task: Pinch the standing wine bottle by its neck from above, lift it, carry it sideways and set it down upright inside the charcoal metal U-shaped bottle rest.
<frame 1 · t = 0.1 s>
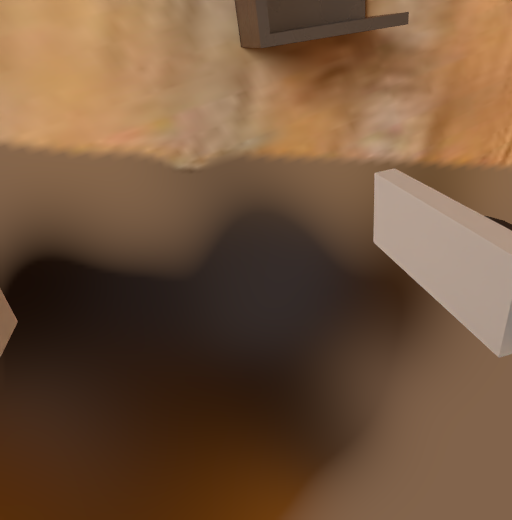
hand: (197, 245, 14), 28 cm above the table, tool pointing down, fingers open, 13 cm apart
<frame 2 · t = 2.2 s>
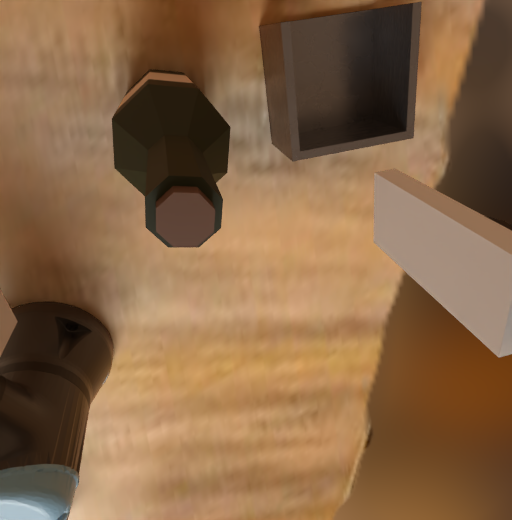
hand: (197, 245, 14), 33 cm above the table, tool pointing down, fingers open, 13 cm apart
bottle rest: (322, 75, 44), on the table
wine bottle: (166, 111, 42), on the table
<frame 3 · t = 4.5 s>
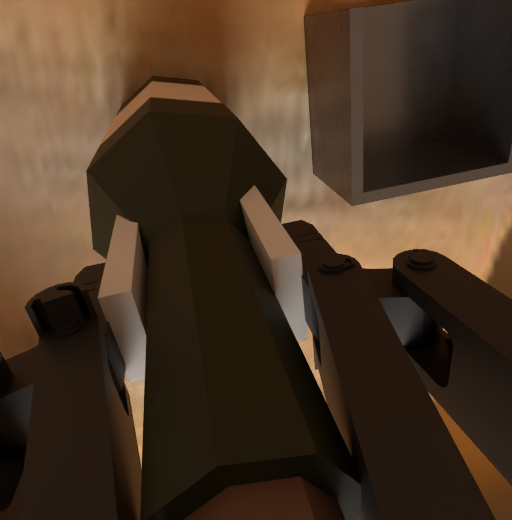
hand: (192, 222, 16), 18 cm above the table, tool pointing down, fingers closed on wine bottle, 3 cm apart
bottle rest: (383, 83, 33), on the table
wine bottle: (174, 133, 31), on the table, touching gripper
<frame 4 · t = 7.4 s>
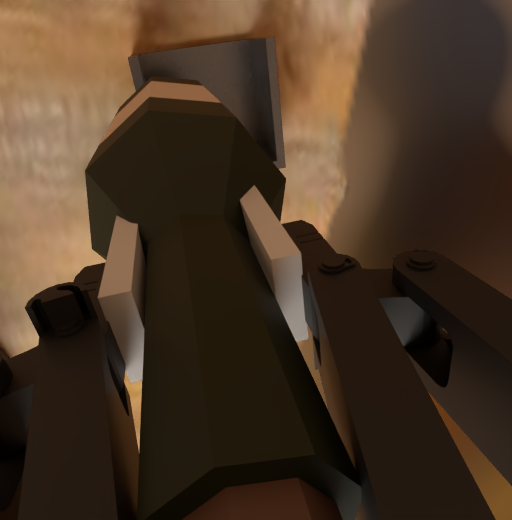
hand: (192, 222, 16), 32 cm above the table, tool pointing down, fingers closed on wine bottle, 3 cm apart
bottle rest: (203, 102, 44), on the table
wine bottle: (174, 132, 31), point 14 cm above the table, touching gripper
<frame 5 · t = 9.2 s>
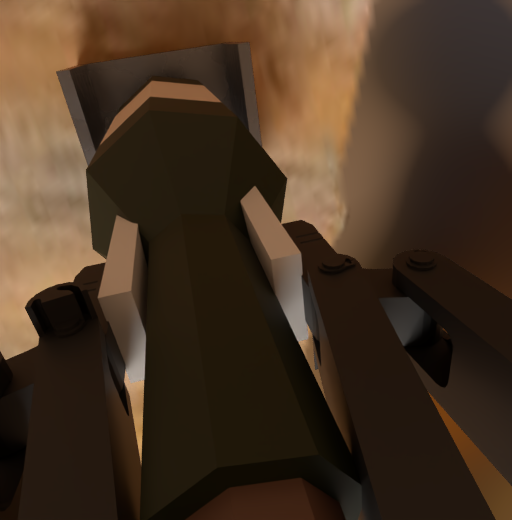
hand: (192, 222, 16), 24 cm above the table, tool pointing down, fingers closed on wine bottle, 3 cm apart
bottle rest: (170, 121, 36), on the table
wine bottle: (174, 132, 31), point 6 cm above the table, touching gripper
when the fingers open (19 cm above the table, at t = 10.6 s): wine bottle drops 1 cm, resting on bottle rest.
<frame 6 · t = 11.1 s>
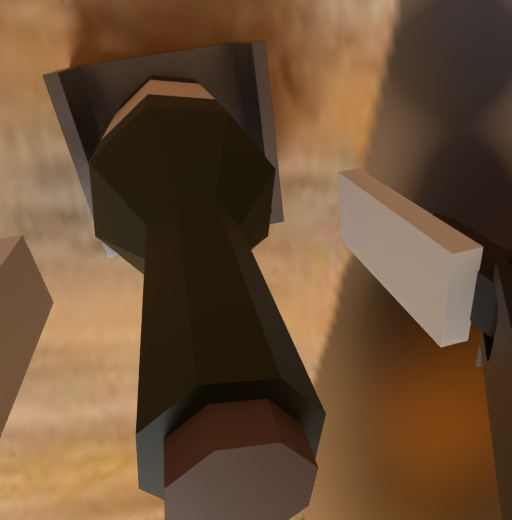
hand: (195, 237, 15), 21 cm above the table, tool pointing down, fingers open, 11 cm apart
bottle rest: (173, 128, 33), on the table
wine bottle: (172, 130, 32), resting on bottle rest
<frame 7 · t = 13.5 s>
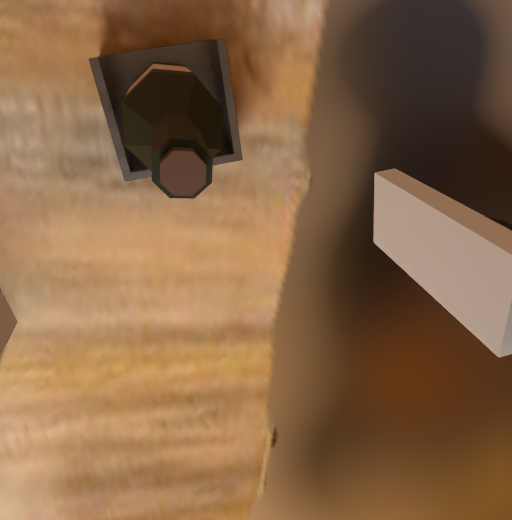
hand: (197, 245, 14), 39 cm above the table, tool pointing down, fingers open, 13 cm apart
bottle rest: (169, 99, 47), on the table
wine bottle: (168, 100, 47), resting on bottle rest
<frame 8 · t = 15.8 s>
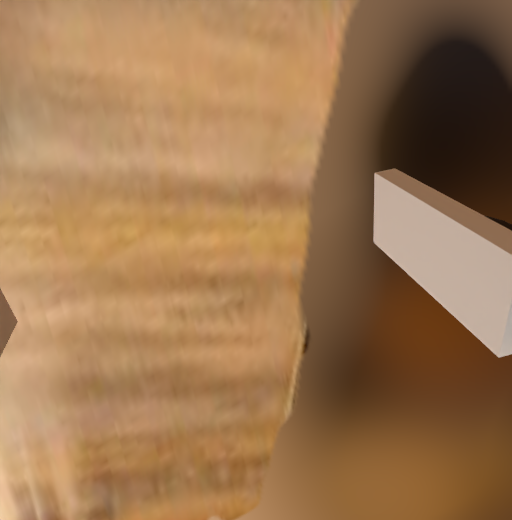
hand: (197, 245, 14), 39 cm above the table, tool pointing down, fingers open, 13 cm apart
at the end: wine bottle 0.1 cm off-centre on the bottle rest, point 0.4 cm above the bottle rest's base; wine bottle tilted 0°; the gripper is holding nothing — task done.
